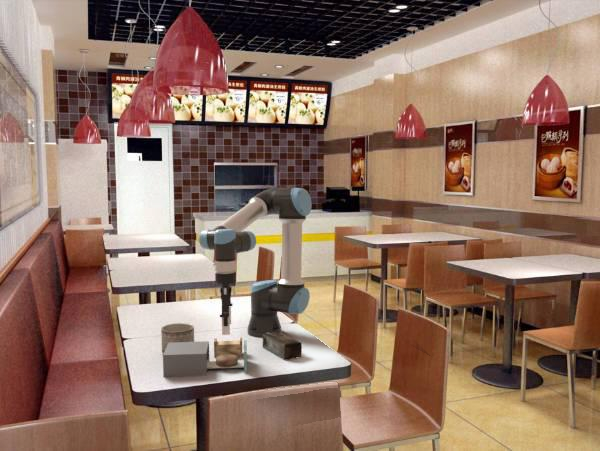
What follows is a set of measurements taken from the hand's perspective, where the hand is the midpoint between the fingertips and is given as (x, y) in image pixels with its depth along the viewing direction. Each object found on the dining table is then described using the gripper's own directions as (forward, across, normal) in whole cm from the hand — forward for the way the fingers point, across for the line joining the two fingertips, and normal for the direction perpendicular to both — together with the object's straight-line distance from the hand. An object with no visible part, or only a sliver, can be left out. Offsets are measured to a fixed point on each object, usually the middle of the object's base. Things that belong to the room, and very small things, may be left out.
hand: (226, 329), depth 207 cm
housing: (+14, 0, -15) cm, 20 cm away
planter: (+15, -19, -20) cm, 31 cm away
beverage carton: (+15, -16, +21) cm, 30 cm away
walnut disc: (+13, 0, 0) cm, 13 cm away
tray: (+14, 0, 0) cm, 14 cm away
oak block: (+14, -14, 0) cm, 20 cm away
